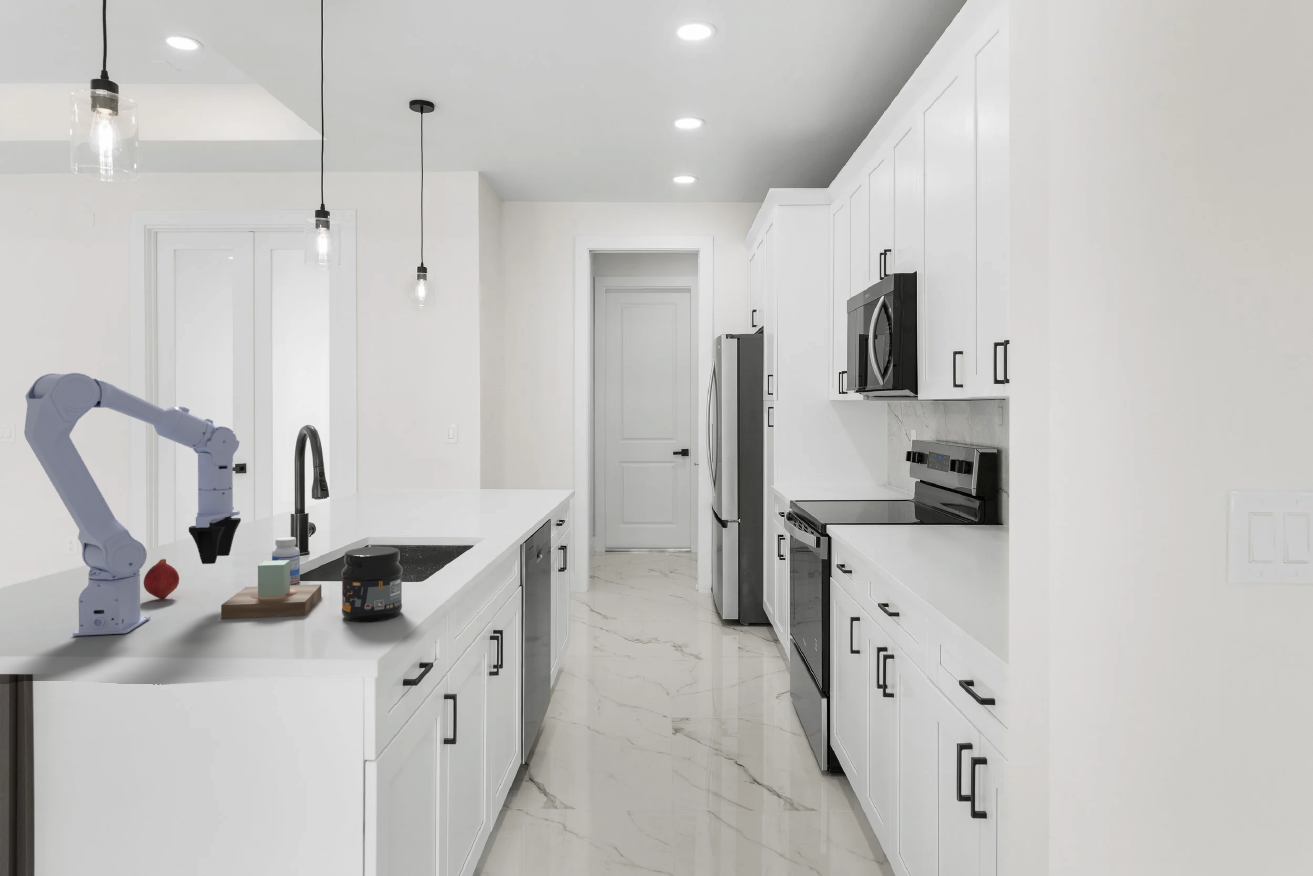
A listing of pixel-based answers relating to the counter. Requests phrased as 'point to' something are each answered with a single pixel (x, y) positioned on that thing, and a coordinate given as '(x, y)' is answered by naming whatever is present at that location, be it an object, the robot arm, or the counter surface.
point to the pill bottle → (288, 556)
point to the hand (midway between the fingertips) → (216, 559)
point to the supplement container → (371, 584)
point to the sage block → (273, 578)
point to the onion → (161, 580)
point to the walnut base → (271, 603)
